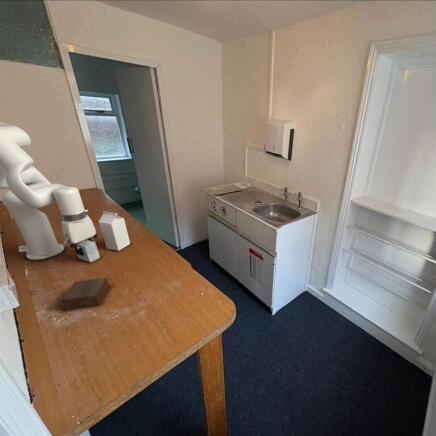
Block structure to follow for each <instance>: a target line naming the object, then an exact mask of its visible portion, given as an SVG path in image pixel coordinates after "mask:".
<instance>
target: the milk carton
mask: <svg viewBox="0 0 436 436" xmlns="http://www.w3.org/2000/svg"><path fill="white" fill-rule="evenodd" d="M102 213H103V214H102V215H101V217H100V218H99V220H98V225H99V228H100V233H101V235H102V238H103V243H104V244H105V248H106V249H107V250H113V251H117V252H119V251H121V250H123V249H124V248H127V247H128V246H130V245H131V241H130V237H129V234H128V229H127V225H126V221H125V218H124V217H122V216H119V215H118V213H116V212H111V211H106V210H103V211H102Z"/></svg>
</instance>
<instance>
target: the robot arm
mask: <svg viewBox="0 0 436 436" xmlns="http://www.w3.org/2000/svg"><path fill="white" fill-rule="evenodd" d="M31 144H32V139H31V137H30V136H29V134H28V133H27V132H26V131H25V130H23V129H22V128H21V127H19V126H16V125H13V124H10V123H5V122H2V121H0V190H6V189H9V190H7V191H5V192H3V193H2V195H1V196H0V199H1V200H0V201H1V203H2V204H3V205H4V207H5V209H7V211H8V212H9V214H10V215H11V216H12V218H13V219H14V222H15V224H16V225H17V228H18V230H19V232H20V234H21V236H22V238H23V240H24V243H25V245H19V246H18V252H19V253H24V252H25V253H26V254H25V256H26V258H27V259H28V260H31V261H39V260H45V259H49V258H53V257H54V256H57V255H59V254H61V253H62V252H63V251H65V248H72V249H74V250H75V254H76V255H77V254H78V255H81V256H83V255H84V253H83V250H82V248H81V247H80V241H83V240H85V239H86V240H89V241H92V242H95V243H96V239H97V238H98V235H99V234H100V233H101V230H99V229H97V228H95V224H94V223H93V221H92V219H91V218H90V216H89V215H88V212H89V209H87V208H86V209H85V206H84V202H83V200H82V196H81V194H80V190H79V189H78V188H77V187H76V186H67V185H64V184H61V183H51V182H50V181H49V180H48V178H46V177H45V176H44V175H43V174H42V173H41V171H40V170H39V169H37V168H36V167H35V166H33V164H34V163H35V162H34V159H33V158H32V157H31V156H30V155H29V154H28V153H27V152H26V151H25V150H24V149H23V148H28V147H30V145H31ZM54 204H57V207H58V209H59V212H60V214H61V217H62V220H61V232H62V234H63V238H64V240H63V241H64V242H63V244H62V243H59V242H58V240H57V238H56V235H55V233H54V230H53V227H52V225H51V223H50V220H49V218H48V216H47V214H46V213H44V212H43V211H41V210H39V209H41V208H45V207H48V206H50V205H54ZM78 255H77V256H78Z"/></svg>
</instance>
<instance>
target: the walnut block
mask: <svg viewBox="0 0 436 436" xmlns="http://www.w3.org/2000/svg"><path fill="white" fill-rule="evenodd" d="M109 289H110V283H109V281H108V278H107V277H101V278H91V279H84V280H83V279H82V280H76V281H74V283H73V284H72V285H71V286H70V287H69V288H68V290H67V292H66V293H65V294H64V295H63V297H62V298H61V300H60V302H61V304H62V306H63V308H64V310H65V311H67V310H75V309H82V308H89V307H94V306H100V305H101V303H102V301H103V299H104V298H105V296H106V294H107V292H108V291H109Z"/></svg>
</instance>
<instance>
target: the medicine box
mask: <svg viewBox="0 0 436 436" xmlns="http://www.w3.org/2000/svg"><path fill="white" fill-rule="evenodd" d="M80 247H81V248H82V250H83V253H84V255H83V256H81V255H78V254H77V253H76V255H77V258H78V259H79V260H82V261H86V262H88V263H93V262H95V261H96V260H99V259H101V256H100V253H99V250H98V247H97V244H96V241H95V242H92V241H89V240H88V239H85V240H83V241H80Z"/></svg>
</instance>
